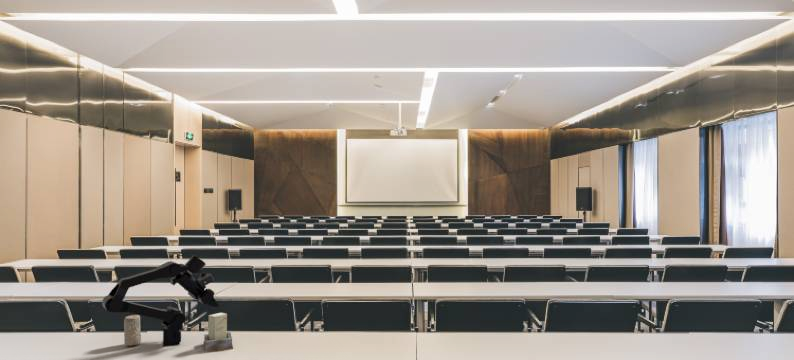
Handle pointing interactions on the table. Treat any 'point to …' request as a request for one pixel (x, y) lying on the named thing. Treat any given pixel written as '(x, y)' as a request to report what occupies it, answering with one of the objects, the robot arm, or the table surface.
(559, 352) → the table surface
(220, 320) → the skincare box
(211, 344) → the socket
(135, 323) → the carving
